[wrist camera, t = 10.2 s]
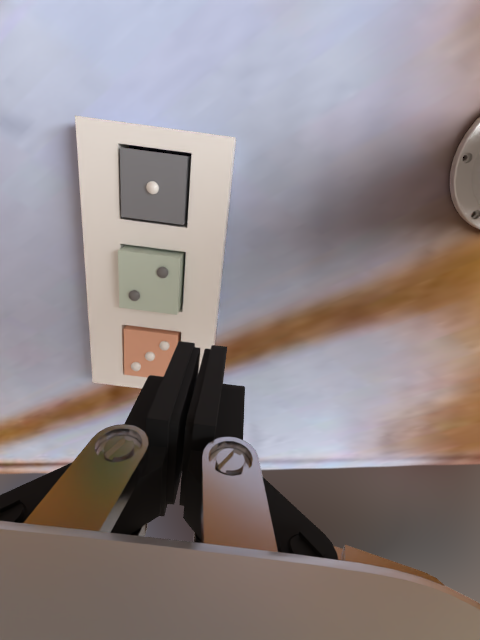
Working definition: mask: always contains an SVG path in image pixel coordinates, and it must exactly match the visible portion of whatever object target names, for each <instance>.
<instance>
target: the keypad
mask: <svg viewBox="0 0 480 640" xmlns="http://www.w3.org/2000/svg"><path fill="white" fill-rule="evenodd" d="M75 123H76V138H77V153H78V168H79V183H80V198H81V214H82V229H83V244H84V259H85V274H86V289H87V304H88V319H89V334H90V349H91V364H92V380H93V383H100V384H108V385H117V386H125V387H133V388H143V386H144V384H145V382H146V380H147V378H148V377H140V376H132V375H124V330H123V329H124V328H125V326H126V325H130V326H138V327H146V328H154V329H162V330H170V331H178V332H181V341H183V342H191V343H195V347H198V348H200V360H199V369H200V365H201V362H202V358H203V354H204V350H205V348H206V349H211V346H212V345H215V339H216V330H217V320H218V310H219V301H220V291H221V281H222V272H223V262H224V253H225V243H226V233H227V224H228V214H229V205H230V195H231V185H232V176H233V166H234V157H235V147H236V139H235V137H228V136H221V135H213V134H206V133H199V132H191V131H184V130H176V129H169V128H162V127H154V126H147V125H139V124H132V123H125V122H117V121H110V120H102V119H95V118H88V117H80V116H75ZM129 145H132V146H140V147H147V148H155V149H162V150H170V151H177V152H185V153H192V155H191V172H190V190H189V207H188V222H186V223H185V224H184V225H180V224H173V223H165V222H157V221H149V220H142V219H134V218H126V217H121V180H120V147H122V148H129ZM126 245H135V246H143V247H150V248H158V249H166V250H174V251H182V252H186V259H185V277H184V294H183V301H182V306H181V308H180V310H179V312H178V314H177V315H175V314H167V313H159V312H151V311H143V310H135V309H127V308H119V273H118V250H119V249H121V248H122V247H124V246H126ZM198 373H199V372H198Z"/></svg>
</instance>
